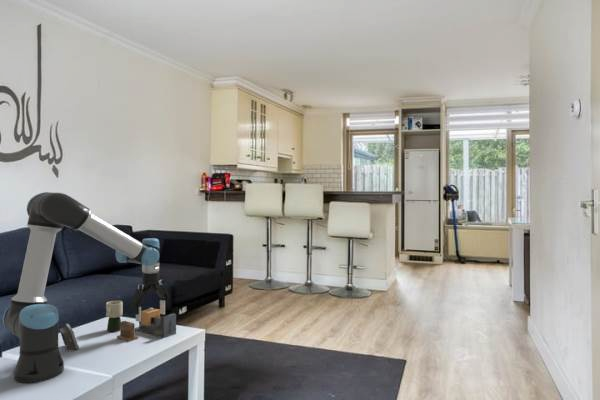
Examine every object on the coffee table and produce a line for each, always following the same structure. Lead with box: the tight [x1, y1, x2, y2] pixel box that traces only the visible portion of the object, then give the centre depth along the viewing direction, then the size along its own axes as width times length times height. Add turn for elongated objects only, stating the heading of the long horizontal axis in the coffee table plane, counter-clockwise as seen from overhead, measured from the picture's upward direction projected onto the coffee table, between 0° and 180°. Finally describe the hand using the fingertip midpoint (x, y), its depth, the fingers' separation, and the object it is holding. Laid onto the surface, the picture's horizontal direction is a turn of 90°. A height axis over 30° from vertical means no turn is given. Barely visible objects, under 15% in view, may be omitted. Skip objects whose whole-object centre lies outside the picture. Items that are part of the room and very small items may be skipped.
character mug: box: [105, 300, 124, 332], centre depth 199 cm, size 11×7×13 cm, turn 176°
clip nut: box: [141, 307, 161, 326], centre depth 198 cm, size 6×5×7 cm
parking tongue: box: [116, 320, 139, 343], centre depth 188 cm, size 5×8×7 cm, turn 58°
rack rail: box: [134, 313, 177, 339], centre depth 197 cm, size 7×20×9 cm, turn 58°
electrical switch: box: [58, 323, 80, 352], centre depth 176 cm, size 9×5×9 cm, turn 38°
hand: (150, 317), depth 198 cm, fingers open, 13 cm apart
